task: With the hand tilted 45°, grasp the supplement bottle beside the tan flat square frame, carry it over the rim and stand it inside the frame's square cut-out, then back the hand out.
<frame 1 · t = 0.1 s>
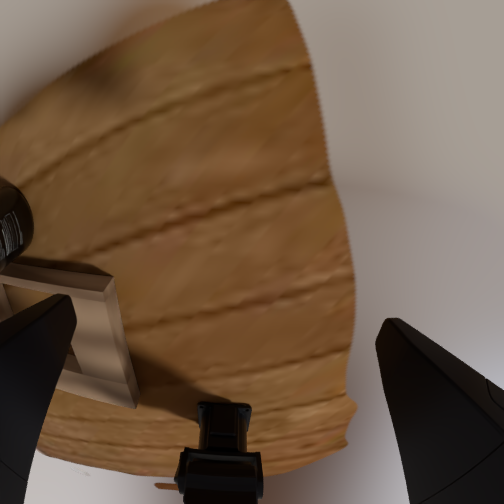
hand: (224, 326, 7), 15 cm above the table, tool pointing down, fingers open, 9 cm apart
tan flat square frame: (58, 332, 27), on the table
supplement bottle: (14, 218, 21), on the table
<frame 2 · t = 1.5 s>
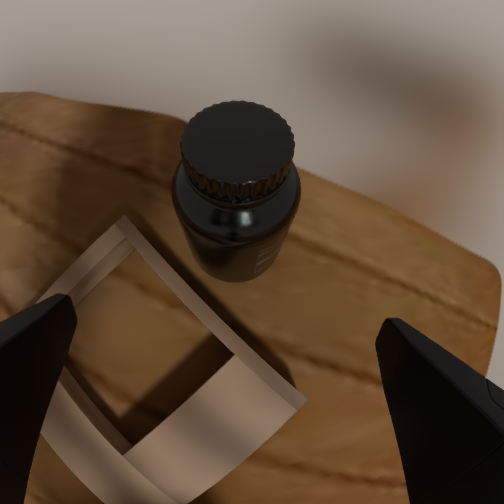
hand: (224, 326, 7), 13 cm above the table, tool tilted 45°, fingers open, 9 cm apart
tan flat square frame: (129, 386, 18), on the table
supplement bottle: (233, 241, 23), on the table
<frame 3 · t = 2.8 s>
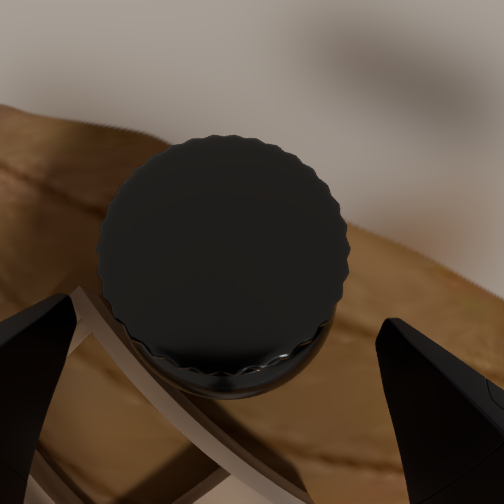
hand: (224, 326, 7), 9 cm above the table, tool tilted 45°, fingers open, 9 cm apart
tan flat square frame: (108, 481, 12), on the table
supplement bottle: (228, 317, 16), on the table
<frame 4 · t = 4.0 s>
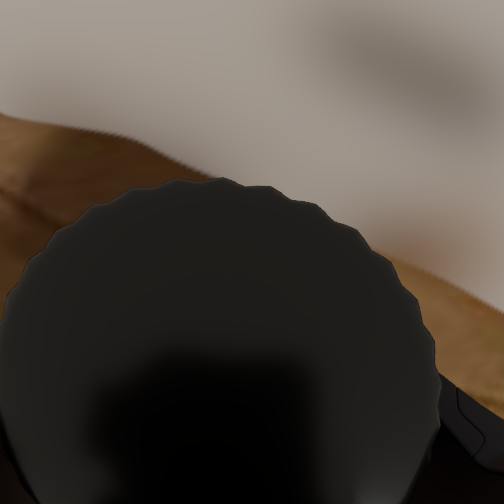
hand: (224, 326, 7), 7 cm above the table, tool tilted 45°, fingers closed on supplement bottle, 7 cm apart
supplement bottle: (225, 364, 13), on the table, touching gripper
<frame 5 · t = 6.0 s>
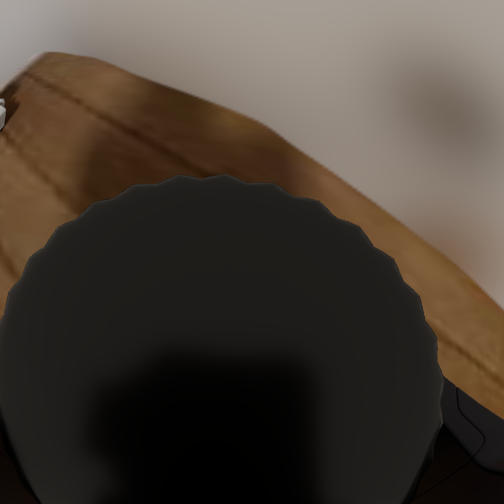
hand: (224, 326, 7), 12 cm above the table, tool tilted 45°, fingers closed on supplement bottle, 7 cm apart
supplement bottle: (226, 363, 13), point 5 cm above the table, touching gripper
when the fingers open (8 cm above the table, at t = 7.9 s): supplement bottle drops 1 cm, resting in tan flat square frame.
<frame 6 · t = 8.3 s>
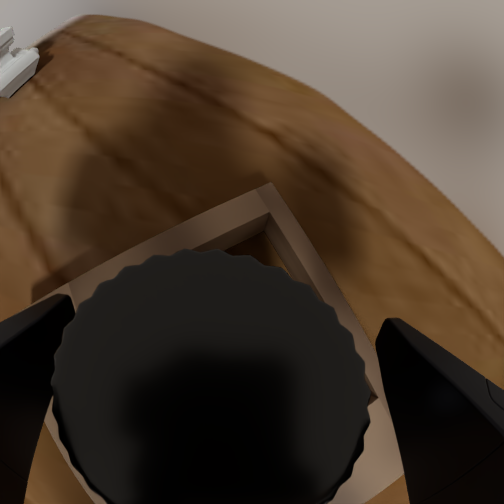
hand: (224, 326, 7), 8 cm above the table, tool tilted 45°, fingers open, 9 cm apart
tan flat square frame: (210, 410, 14), on the table
supplement bottle: (224, 366, 15), resting in tan flat square frame
stamp: (17, 85, 21), on the table
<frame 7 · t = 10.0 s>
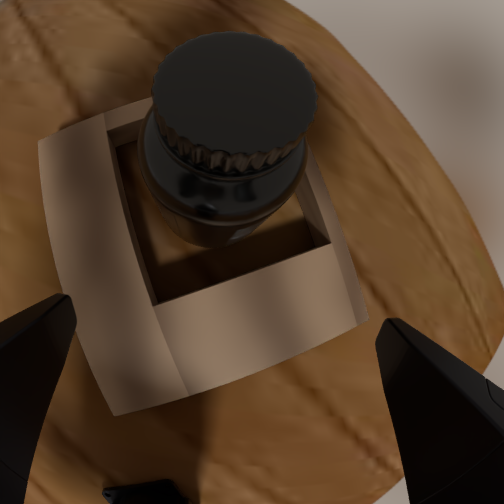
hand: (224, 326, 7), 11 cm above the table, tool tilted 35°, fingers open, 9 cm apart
tan flat square frame: (192, 232, 18), on the table
supplement bottle: (211, 197, 19), resting in tan flat square frame
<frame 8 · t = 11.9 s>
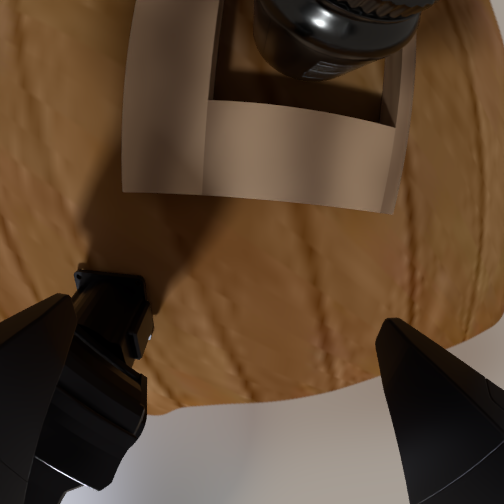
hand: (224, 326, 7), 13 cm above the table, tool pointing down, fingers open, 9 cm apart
tan flat square frame: (274, 55, 15), on the table
supplement bottle: (305, 36, 15), resting in tan flat square frame
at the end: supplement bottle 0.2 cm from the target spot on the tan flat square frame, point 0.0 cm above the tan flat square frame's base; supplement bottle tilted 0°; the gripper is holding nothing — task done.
